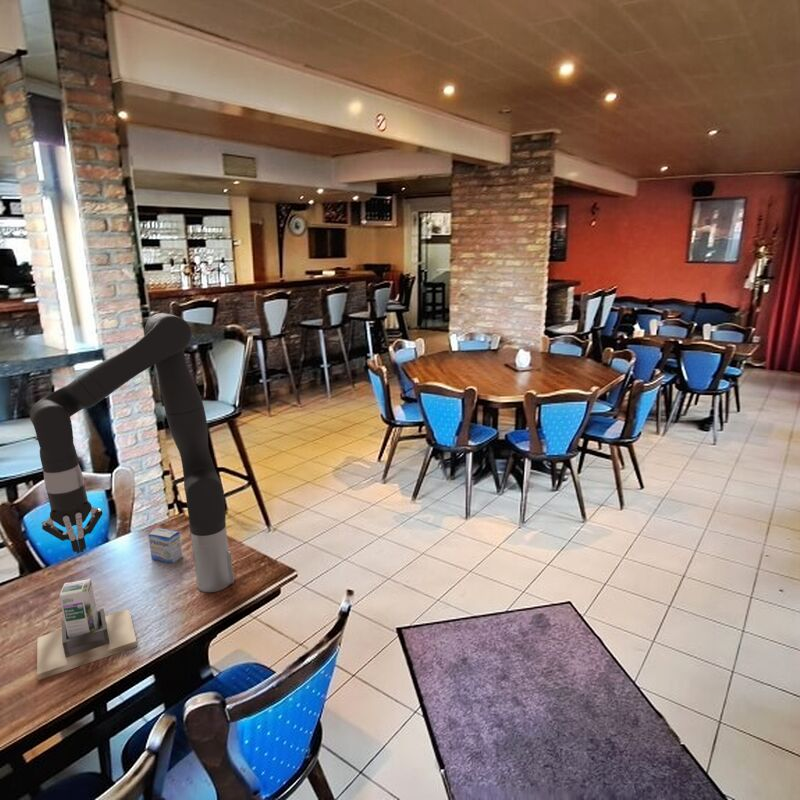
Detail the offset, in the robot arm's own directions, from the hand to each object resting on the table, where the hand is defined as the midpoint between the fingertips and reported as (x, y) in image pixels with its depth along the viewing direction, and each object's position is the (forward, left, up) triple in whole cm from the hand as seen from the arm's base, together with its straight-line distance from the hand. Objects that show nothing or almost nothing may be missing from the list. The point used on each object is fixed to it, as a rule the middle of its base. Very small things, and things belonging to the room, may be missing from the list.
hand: (80, 551), depth 134 cm
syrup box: (+2, +6, -20) cm, 21 cm away
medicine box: (-21, -24, -22) cm, 39 cm away
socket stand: (+2, +6, -21) cm, 22 cm away
